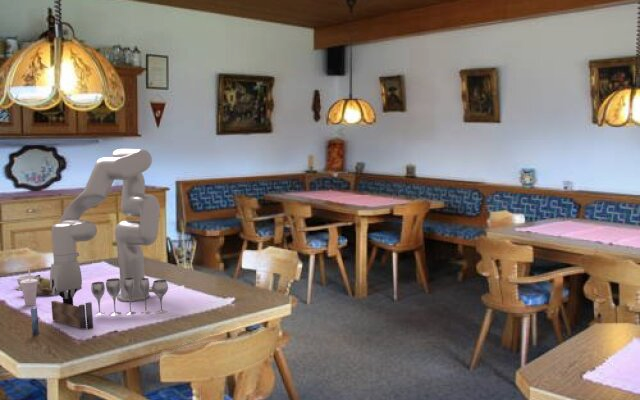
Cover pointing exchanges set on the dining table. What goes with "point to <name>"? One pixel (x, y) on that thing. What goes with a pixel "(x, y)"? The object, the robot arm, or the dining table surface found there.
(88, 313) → the grey upright cylinders
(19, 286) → the teacup
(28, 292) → the smoothie
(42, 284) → the ceramic sculpture
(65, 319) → the gate
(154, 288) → the goblet set
